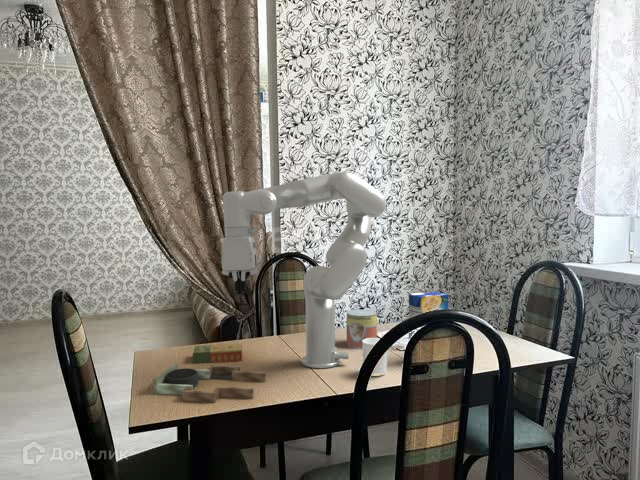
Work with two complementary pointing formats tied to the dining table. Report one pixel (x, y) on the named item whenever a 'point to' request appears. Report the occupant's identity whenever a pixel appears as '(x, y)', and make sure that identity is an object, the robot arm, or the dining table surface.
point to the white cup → (367, 347)
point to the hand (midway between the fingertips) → (241, 293)
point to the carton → (217, 353)
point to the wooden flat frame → (210, 373)
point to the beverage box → (426, 303)
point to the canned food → (360, 326)
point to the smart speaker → (182, 377)
